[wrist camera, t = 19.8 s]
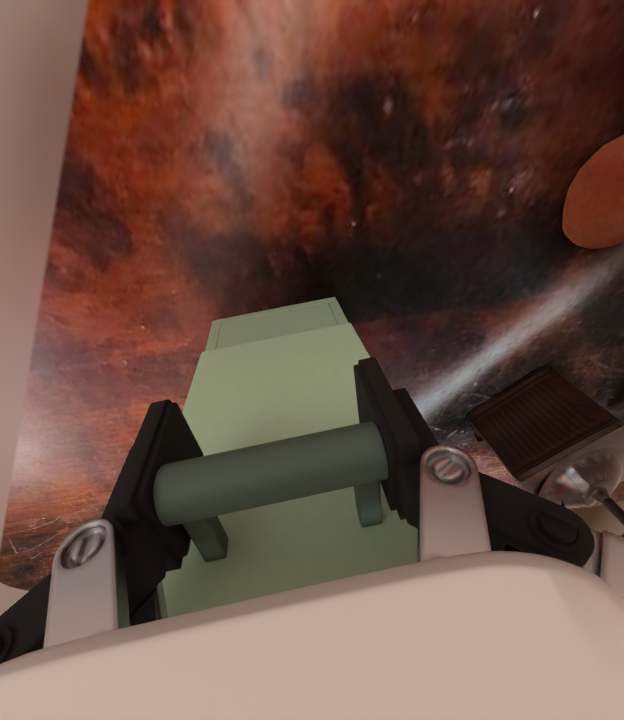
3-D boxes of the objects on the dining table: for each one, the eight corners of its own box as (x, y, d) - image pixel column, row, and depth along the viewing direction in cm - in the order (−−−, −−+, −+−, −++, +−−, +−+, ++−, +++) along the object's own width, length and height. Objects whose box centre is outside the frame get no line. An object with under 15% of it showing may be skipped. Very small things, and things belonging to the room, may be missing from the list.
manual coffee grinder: (458, 418, 39) (584, 589, 24) (547, 361, 36) (755, 517, 21) (505, 473, 46) (622, 629, 31) (581, 430, 43) (751, 580, 28)
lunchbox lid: (484, 575, 10) (510, 468, 7) (118, 659, 9) (16, 576, 7) (351, 332, 24) (345, 268, 21) (204, 361, 23) (181, 300, 21)
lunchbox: (349, 425, 37) (362, 463, 32) (256, 444, 36) (256, 485, 32) (335, 296, 28) (349, 324, 24) (212, 320, 28) (203, 353, 23)
